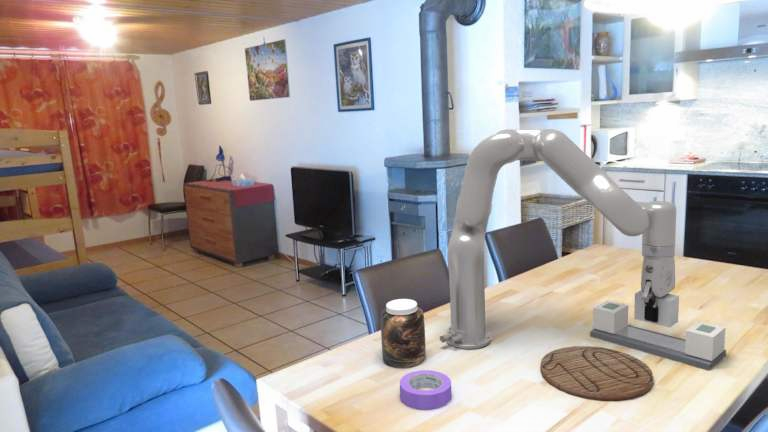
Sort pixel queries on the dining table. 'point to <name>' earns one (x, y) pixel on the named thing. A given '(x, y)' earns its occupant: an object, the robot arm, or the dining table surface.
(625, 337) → the rail panel
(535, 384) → the dining table surface
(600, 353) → the trivet
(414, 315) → the jar
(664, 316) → the module block
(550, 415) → the dining table surface
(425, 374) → the masking tape
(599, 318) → the mounted modules
